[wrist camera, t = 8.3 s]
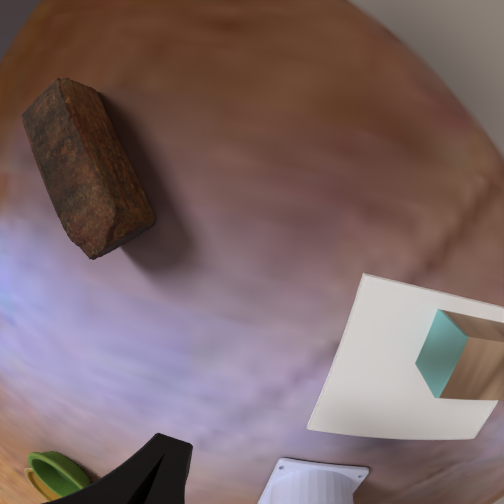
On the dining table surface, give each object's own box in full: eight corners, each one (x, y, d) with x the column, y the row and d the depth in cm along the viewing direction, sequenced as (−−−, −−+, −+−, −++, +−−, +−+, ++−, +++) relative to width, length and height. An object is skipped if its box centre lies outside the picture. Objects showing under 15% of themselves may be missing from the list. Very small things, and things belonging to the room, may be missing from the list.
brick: (61, 122, 19) (17, 115, 14) (99, 88, 18) (57, 72, 13) (118, 250, 20) (76, 267, 15) (163, 221, 19) (126, 233, 15)
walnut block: (414, 363, 18) (494, 372, 17) (434, 397, 14) (518, 400, 13) (437, 308, 17) (516, 325, 16) (465, 335, 13) (545, 348, 13)
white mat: (471, 435, 19) (473, 438, 19) (306, 424, 21) (306, 429, 20) (535, 314, 17) (539, 317, 16) (363, 272, 18) (364, 275, 17)
